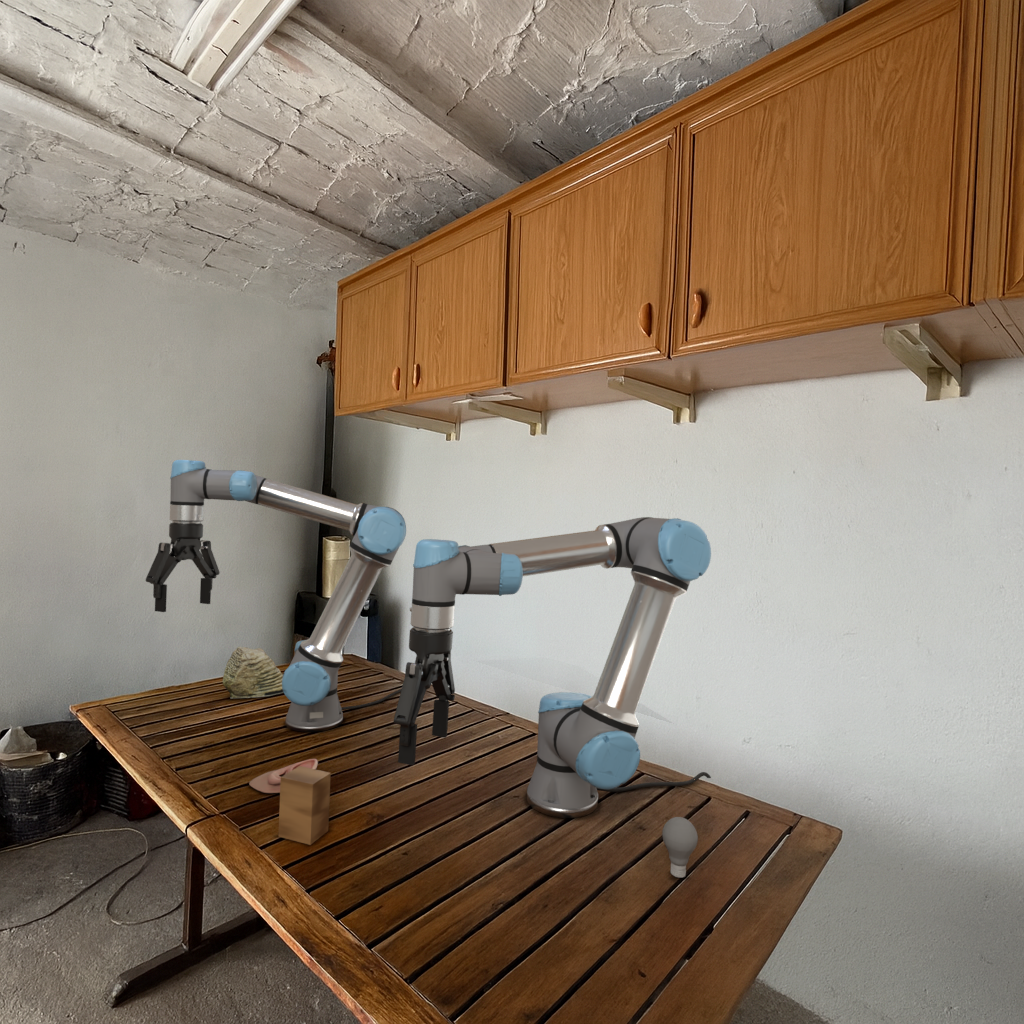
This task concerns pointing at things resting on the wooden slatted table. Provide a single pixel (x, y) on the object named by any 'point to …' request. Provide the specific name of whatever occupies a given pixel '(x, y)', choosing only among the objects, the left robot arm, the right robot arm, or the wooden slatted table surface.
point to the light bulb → (679, 843)
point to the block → (304, 805)
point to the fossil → (252, 674)
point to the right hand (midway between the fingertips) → (423, 749)
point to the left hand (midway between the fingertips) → (183, 607)
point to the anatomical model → (278, 777)
